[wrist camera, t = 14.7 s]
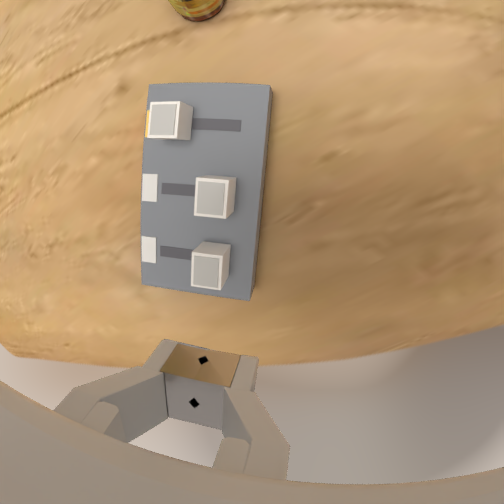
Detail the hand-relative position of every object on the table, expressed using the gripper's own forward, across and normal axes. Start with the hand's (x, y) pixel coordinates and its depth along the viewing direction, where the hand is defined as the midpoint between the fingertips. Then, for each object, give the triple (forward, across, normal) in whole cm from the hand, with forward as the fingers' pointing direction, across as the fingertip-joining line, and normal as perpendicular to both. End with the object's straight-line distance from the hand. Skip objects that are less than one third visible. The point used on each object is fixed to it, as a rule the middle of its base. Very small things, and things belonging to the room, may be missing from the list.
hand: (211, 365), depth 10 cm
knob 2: (+24, +6, -2) cm, 25 cm away
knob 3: (+24, +6, +5) cm, 25 cm away
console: (+28, +9, -2) cm, 29 cm away
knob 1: (+24, +11, -9) cm, 28 cm away
